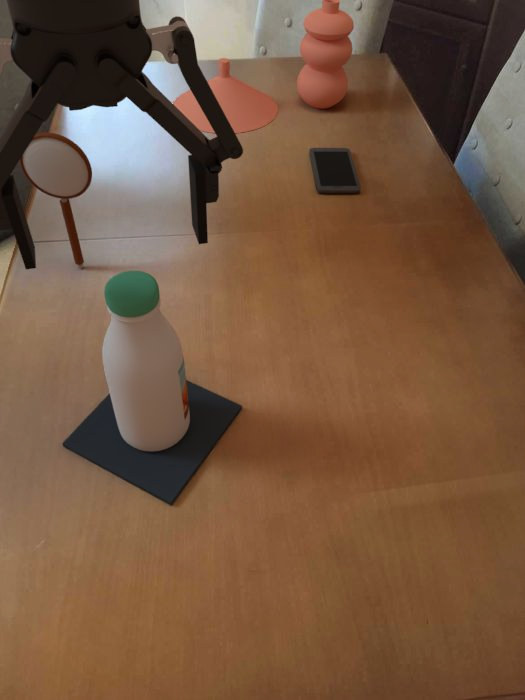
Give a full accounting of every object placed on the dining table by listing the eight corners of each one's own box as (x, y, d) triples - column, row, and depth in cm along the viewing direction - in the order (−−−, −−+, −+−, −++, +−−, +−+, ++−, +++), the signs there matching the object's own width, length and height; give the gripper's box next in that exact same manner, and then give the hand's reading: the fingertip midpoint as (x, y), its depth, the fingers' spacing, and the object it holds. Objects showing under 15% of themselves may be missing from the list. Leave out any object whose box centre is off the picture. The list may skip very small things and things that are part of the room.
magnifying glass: (112, 266, 84) (86, 132, 70) (109, 274, 83) (82, 139, 68) (52, 261, 85) (14, 126, 70) (48, 269, 83) (8, 134, 69)
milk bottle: (180, 459, 62) (162, 323, 48) (109, 448, 63) (70, 310, 48) (197, 401, 68) (186, 262, 53) (131, 392, 68) (102, 252, 54)
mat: (62, 446, 64) (61, 443, 63) (142, 362, 72) (141, 358, 72) (171, 506, 59) (171, 503, 59) (242, 408, 68) (242, 405, 67)
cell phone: (348, 151, 108) (349, 147, 107) (361, 194, 99) (361, 190, 98) (308, 151, 108) (308, 147, 107) (317, 194, 98) (317, 190, 98)
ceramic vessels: (175, 136, 110) (166, 26, 96) (168, 86, 124) (159, -16, 110) (358, 126, 115) (374, 20, 101) (331, 80, 129) (342, -19, 115)
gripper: (-208, -33, 28) (-50, 301, 43) (299, -53, 33) (277, 251, 49) (-177, -75, 33) (-45, 239, 48) (262, -87, 38) (253, 200, 54)
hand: (117, 246), depth 49 cm, fingers open, 13 cm apart
